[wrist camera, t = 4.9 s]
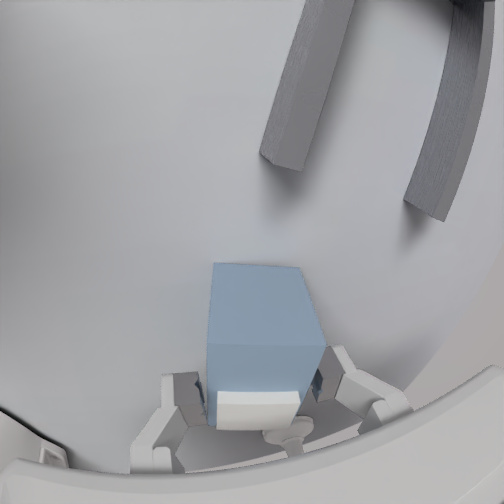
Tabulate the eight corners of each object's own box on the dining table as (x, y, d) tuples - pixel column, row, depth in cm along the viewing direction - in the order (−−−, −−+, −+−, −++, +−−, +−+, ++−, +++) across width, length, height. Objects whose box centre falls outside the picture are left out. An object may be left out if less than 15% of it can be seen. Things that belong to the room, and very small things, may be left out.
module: (279, 353, 17) (293, 435, 12) (211, 351, 16) (207, 436, 11) (299, 267, 14) (331, 357, 9) (213, 262, 13) (205, 356, 8)
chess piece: (256, 440, 24) (278, 529, 15) (269, 418, 22) (299, 522, 13) (302, 435, 25) (330, 516, 16) (320, 412, 23) (356, 504, 14)
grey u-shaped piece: (415, 204, 14) (454, 229, 11) (258, 152, 11) (280, 170, 8) (466, 2, 8) (504, -1, 5) (337, -86, 5) (367, -112, 2)
